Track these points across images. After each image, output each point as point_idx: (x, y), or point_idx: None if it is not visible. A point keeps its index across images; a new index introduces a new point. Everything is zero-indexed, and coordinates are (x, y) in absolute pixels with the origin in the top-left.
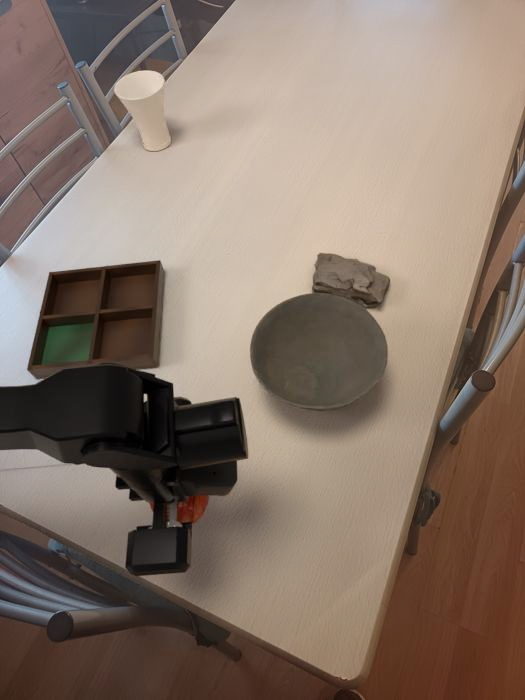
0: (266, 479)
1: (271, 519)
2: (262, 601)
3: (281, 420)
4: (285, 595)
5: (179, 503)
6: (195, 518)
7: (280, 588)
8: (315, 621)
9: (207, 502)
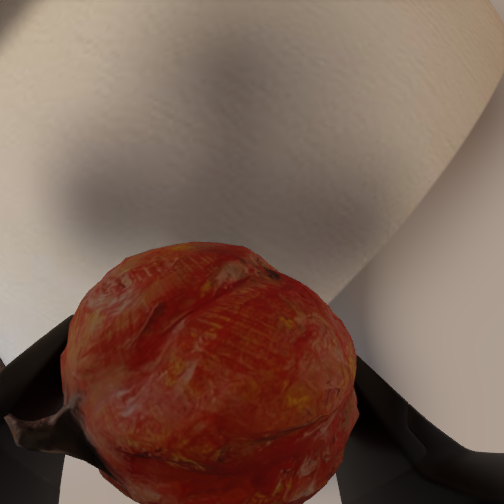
0: (148, 27)
1: (265, 27)
2: (429, 111)
3: (23, 13)
4: (429, 65)
5: (298, 497)
6: (353, 356)
7: (418, 67)
8: (466, 42)
9: (246, 258)
